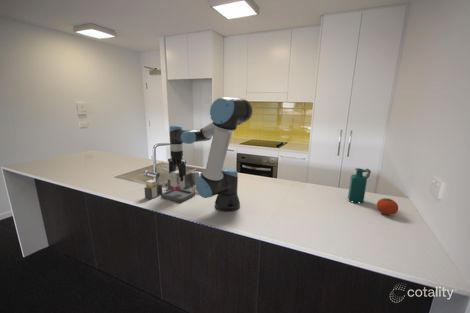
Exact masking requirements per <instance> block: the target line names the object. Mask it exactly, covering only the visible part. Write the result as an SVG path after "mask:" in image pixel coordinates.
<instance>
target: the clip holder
mask: <svg viewBox="0 0 470 313" xmlns="http://www.w3.org/2000/svg"><path fill="white" fill-rule="evenodd" d="M167 188H168V190H171V181H170V178H168V179H167ZM162 193H163V185H162V184H160V183H157V180H154V179H148V180H146V181H145V187H144V198H145V199H147V200H153V199H156V198H158V197H159V196H161V194H162Z"/></svg>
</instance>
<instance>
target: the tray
mask: <svg viewBox="0 0 470 313" xmlns="http://www.w3.org/2000/svg"><path fill="white" fill-rule="evenodd" d="M193 196H194V197H195V196H196V192H195V191H194V190H193V191H192V190H188V189H184V188H182V189H180V190H178V191H174V190H171V189H168V190H166V191H164V192H162V194H161V195H160V198H161V199H165V200H168V201H171V202H172V201H173V202H174V203H179V204H182V203H184V202H186V201H189V199H192V198H194V197H193Z"/></svg>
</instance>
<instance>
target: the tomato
mask: <svg viewBox="0 0 470 313" xmlns="http://www.w3.org/2000/svg"><path fill="white" fill-rule="evenodd" d="M398 205H399V204H398V203H397V202H396V201H395V200H394V199H392V198H385V197H384V198H380V199H379V200H378V201H377V202H376V209H377V210H378V211H379V212H380V213H381V214H383V215H386V216H393V215H395V214H396V213H398V211H399V206H398Z"/></svg>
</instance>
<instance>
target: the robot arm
mask: <svg viewBox="0 0 470 313" xmlns="http://www.w3.org/2000/svg"><path fill="white" fill-rule="evenodd" d="M209 115H210V120H211V123H209V124H207V125H206V126H204V127H202V128H199V129H198V128H197V129H187V130H186V129H183V126H182V125H171V126H169V143H170V144H169V145H170V146H169V147H170V157H171V158H170V157H169V158H168V159H167V161H168V173H169V174H170V173H171V172H173V171H176V170H179V174H180V176H179V186H182V185H183V176H187V168H186V165H187V161H186V160H184V159H183V156H184V153H183V152H184V151H183V146H184V145H183V143H184V144H186V145H188V144H189V145H190V144H193V143H197V142H198V143H199V142H207V141H210V140H211V143H210V148H209V153H208V157H207V161H206V162H207V163H206V167H205V168H204V169H203V170H202V172H201V175H200V176H199V177H197V178H196V179H195V182H194V183H195V184H194V185H195V186H194V187H195V189H196V192H197V194H198V195H199V196H200V197H201V198H203V199H208V198H212V197H215V196H216V199H215V201H214V207H215V208H216V209H217V210H219V211H224V212H232V211H236V210H238V209H239V208H240V207H241V203H240V201H241V200H240V198H239V196H238V195H239V194H238V182H239V176H238V174H239V173H238V171H237V170H236V169H234V168H229V167H224V164H225V162H226V157H227V153H228V150H229V149H228V148H229V146H230V142H231V137H232V134H233V132H235V131H236V130H237V127H238V126H239V125H240V126H241V125H242V124H244V123H246V122H248V121H249V120H250V119H251V118H252V115H253V106H252V104H251V103H250V102H249V101H248V100H246V99H245V98H237V97H236V98H234V97H227V96H226V97H218V98H217V99H215V100H214V101H213V103H211V106H210V109H209Z"/></svg>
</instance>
